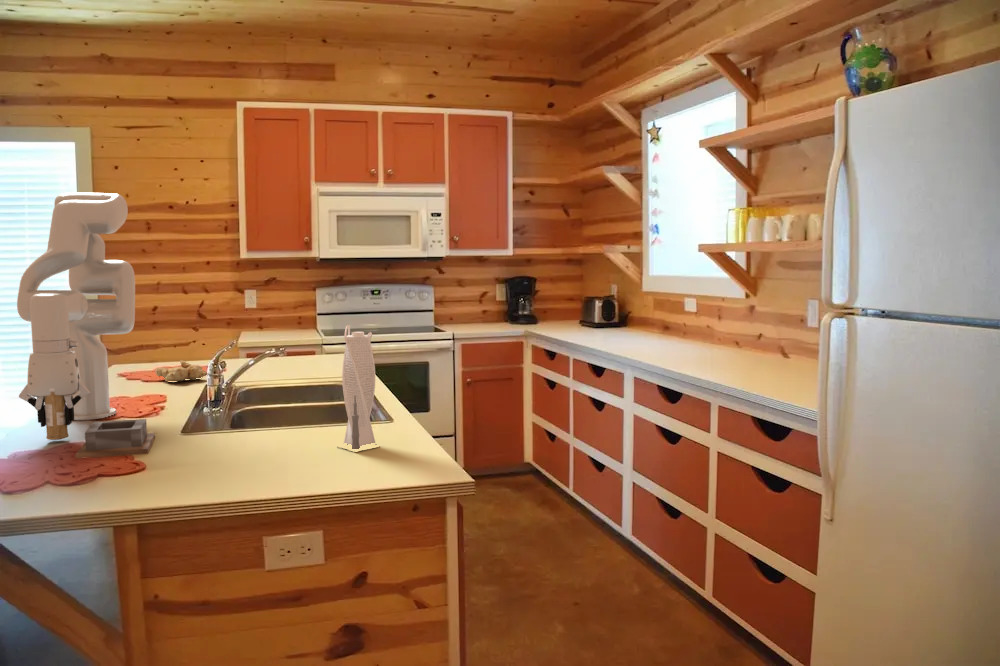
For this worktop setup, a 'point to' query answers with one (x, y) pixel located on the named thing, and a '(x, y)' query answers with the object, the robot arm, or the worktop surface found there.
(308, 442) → the worktop surface
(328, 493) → the worktop surface
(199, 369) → the ginger root
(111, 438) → the socket
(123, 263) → the robot arm
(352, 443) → the skyscraper
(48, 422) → the sprinkles bottle
